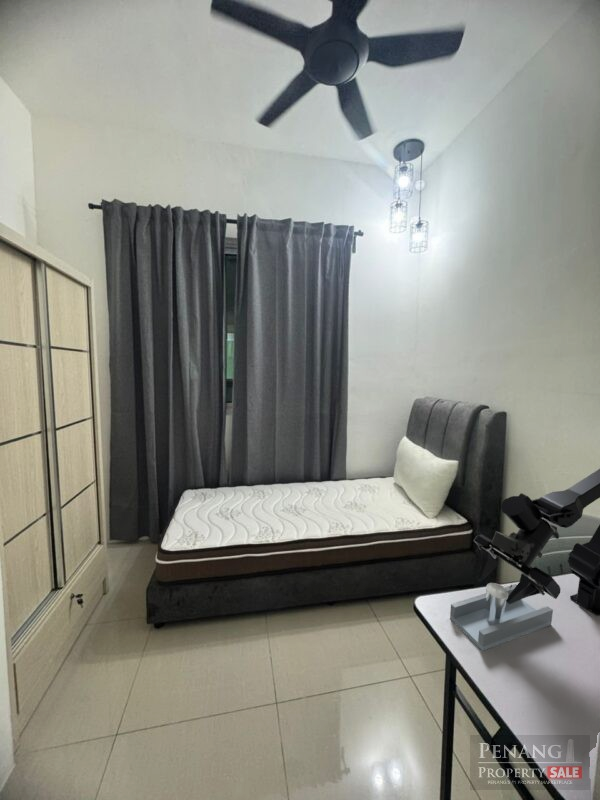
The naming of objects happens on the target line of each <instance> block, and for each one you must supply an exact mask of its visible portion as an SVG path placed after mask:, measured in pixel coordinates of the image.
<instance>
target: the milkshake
mask: <svg viewBox="0 0 600 800" xmlns="http://www.w3.org/2000/svg"><path fill="white" fill-rule="evenodd" d="M512 585H513V584H511V585H509V586H510V587H509V589H508V590H506V589H505V587H504V586H503V585H501V584H499V583H497V582H489V583H487V584H486V586H485V588H486V589H485V591H486V592H485V593H486V598H487V606H486V619H487V620H488V621H489V622H490V623H491V624H493V625H496V624H499V623H502V619H503V615H504V610H505V606H506V600H507V598H508V592H509V590H510V589H511V587H512Z"/></svg>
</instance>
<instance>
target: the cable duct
mask: <svg viewBox="0 0 600 800" xmlns="http://www.w3.org/2000/svg"><path fill="white" fill-rule="evenodd" d="M511 585H512V587H511V589H510V590H509V592H508V596H509V595H510V594H511V592H512V591H513V590H514V588H515V587H516V586H517V585H518V584H517V583H515V584H511ZM511 585H509V586H505V587H504V588H505V589H506V590H508V589H509V587H510V586H511ZM486 606H487V598H486V592H485V593H482V594H479V595H476V596H472V597H469V598H466V599H463V600H459V601H456V602H453V603H450V612H449V613H450V614H449V620H451V621H452V622H453V623H454V624H455V625H456V626H457V627H458V628H459V629H460V631H462V632H463V633H464V635H466V637H468V638H469V639H470V641H472V642H473V643H474V644H475V646H477V647H478V648H479V649H480V650H481V651H482V652H484V651H486V650H489V649H491V648H494V647H496V646H499V645H502V644H504V643H507V642H509V641H513V640H515V639H517V638H520V637H522V636H525V635H528V634H530V633H533V632H536V631H539V630H542V629H544V628H546V627H549V626H552V623H553V622H552V621H553V611H554V609H552V608H551V607H550V606H548V605H547V606H544V607H541V608H538V609H536V608H534V607H533V606H532V605H530V604H529V603H528V602H526V601H525V600H524V599H521V600H518V601H516V602H514V603H511V604H508V603H507V602H506V606H505V610H504V615H503V619H502V623H499V624H496V625H493V624H491V623H490V622H489V621H488V620H487V619H486Z"/></svg>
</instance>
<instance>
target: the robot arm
mask: <svg viewBox="0 0 600 800" xmlns="http://www.w3.org/2000/svg"><path fill="white" fill-rule="evenodd" d="M598 499H600V468H598V469H597V470H596V471H594V472H592V473H591V474H589V475H588V476H586V477H584V478H583V479H582V480H579V481H578V482H576V483H575V484H573V485H572V486H570V487H569V488H567V489H564V490H560V491H559V490H558V491H552V492H549V493H547V494H545V495H542V496H541V497H539V498H536V499H532V498H530V497H529V496H528V495H526V494H524V493H521V492H520V493H519V495H512V496H510V497H507V498H504V500H503V501H502V502H501V504H500V510H501V512H502V513H503V514H504V515H505V516H506V517H507V518H508V519H509V521H511V523H512V524H513V525H514V526H515V527H517V528H518V531H517V532H514V531H513V532H511V533H510V534H509V535H507V534H505V533H502V532H499V531H497V530H495V532H494V535H493V537H492V539H491V538H489V537H487V536H485V535H483V534H477V535H476V536H475V537H474V539H473V542H474V543H475V544H476V545H477V546H478V549H479V551H480V554H481V561H480V562H481V563H480V568H479V571H478V576H477V580H478V581H479V583H480V582H483V581H484V580H485V579H486V578H487V577H489V575H490V574H491V573H492V572H493V571H494V570H495V568H496V567H498V565H499V562H498V560H496V559H497V558H499V559H500V560H502V561H503V562H505V563H507V564H508V565H510V566H512V567H513V568H514V569H516V570H517V571H519V572H521V574H520V579H519V582H518V583H517V584H516V585H517V586H516V587H515V588H514V590H513V591H512V592H511V594H510V595H509V596H508V598H507V600H506V602H507V603H508V604H511V603H514V602H516V601H518V600H521V599H522V600H524V599H526V598H528V597H532V596H536V595H539V594H540V595H542V596H545V595H546V594H547V595H549V596H550V597H552V598H553V599H556V600H557V598H558V597H559V595H560V593H561V586H560V585H559V584H558V582H557V581H556V580H555V579H554V577H553V576H551V575H550V574H549V573H546V572H545V571H543V570H541V569H540V568H538V567H537V566H534V567H532V565H533V564H534V562H535V561H536V559H537V557H538V558H539V559H541V558H542V556H543V554H542V551H543V549H544V548H545V547H546V545H547V543H548V542H549V540H550V539H551V538H554V539H556V540H558V539H560V535H559V533H558V527H560V528H564V529H567V528H570V527H571V526H573V525H575V523H576V522H578V521H579V520H580V519H581V518H582V517H583V513H584V512H583V511H584V509H585V508H586V507H588V506H589V505H591V504H592V503H593V502H596V501H597V500H598ZM549 522H550V523H549ZM553 524H554V525H553ZM555 525H556V526H555ZM567 556H568V557H567V563H568V566H569V570H570V573H571V574H573V575H574V576H575V577H577V578H578V579H579V580H578V587H577V592H576V593H575V594H572V595H570V597H569V599H570V600H572V601H573V602H575V603H577V604H578V605H579V606H582V607H583V608H585V609H587V610H588V611H589V612H591V613H592V614H593V615H595V616H600V523H599V525H598V526H597V528H596V529H595V531H594V532H593V535H592V536H591V538H590V540H589V541H588V542H585V543H582V544H581V543H579V542H577V543H575V544H574V545H573V548H572V550H571V551H570V552H569V553H568V555H567Z"/></svg>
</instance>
